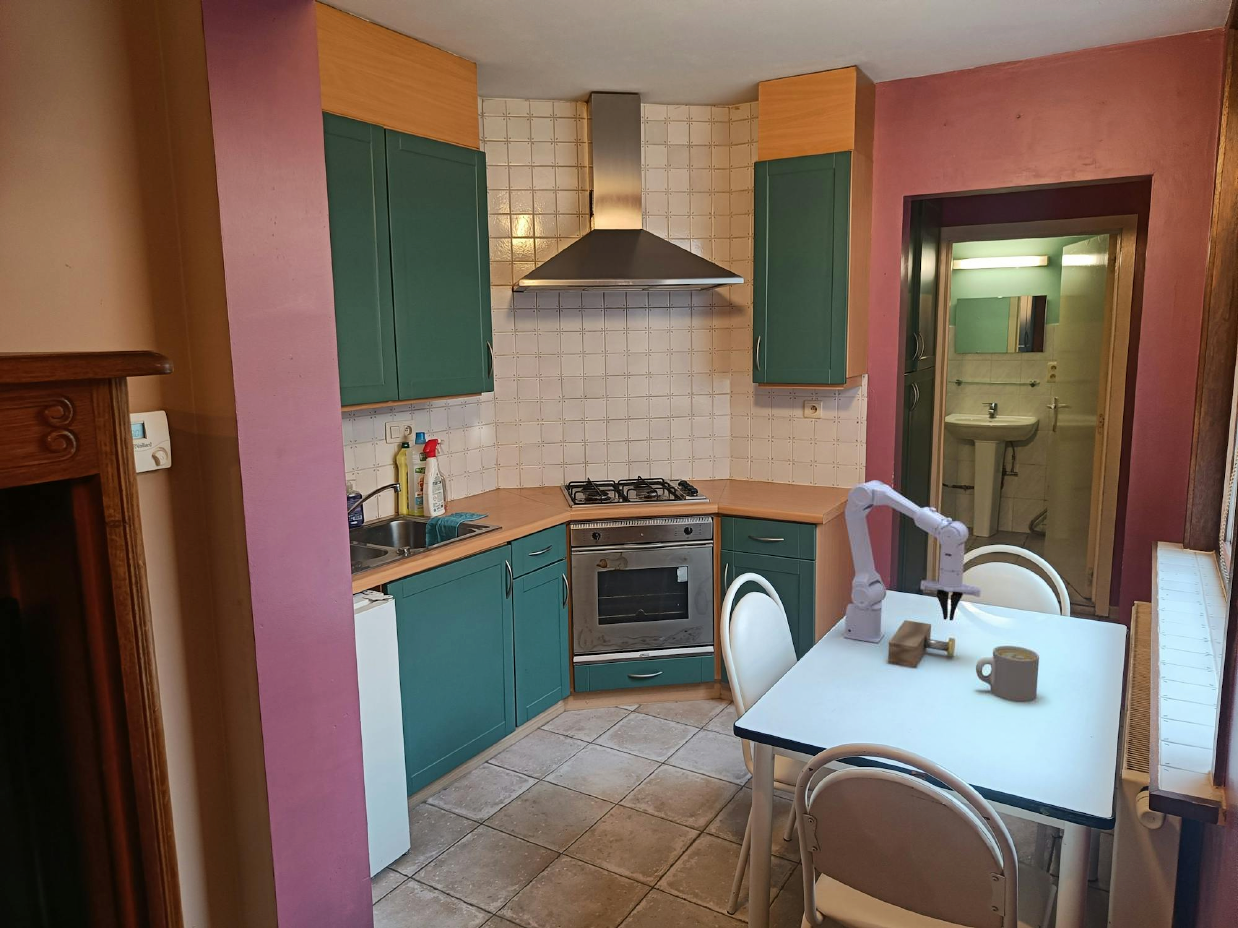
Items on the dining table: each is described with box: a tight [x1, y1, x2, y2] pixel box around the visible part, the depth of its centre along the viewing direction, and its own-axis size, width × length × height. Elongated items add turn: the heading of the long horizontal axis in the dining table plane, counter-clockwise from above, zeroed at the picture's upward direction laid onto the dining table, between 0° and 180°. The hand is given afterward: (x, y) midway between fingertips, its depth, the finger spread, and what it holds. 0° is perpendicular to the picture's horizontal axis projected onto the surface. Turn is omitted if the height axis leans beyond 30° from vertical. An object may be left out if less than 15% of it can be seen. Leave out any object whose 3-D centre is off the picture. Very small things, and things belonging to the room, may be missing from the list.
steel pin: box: [924, 637, 956, 658], centre depth 230 cm, size 9×5×5 cm, turn 61°
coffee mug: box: [975, 645, 1040, 703], centre depth 206 cm, size 13×10×10 cm
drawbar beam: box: [887, 619, 932, 669], centre depth 232 cm, size 7×20×6 cm, turn 151°
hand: (948, 618), depth 228 cm, fingers closed
